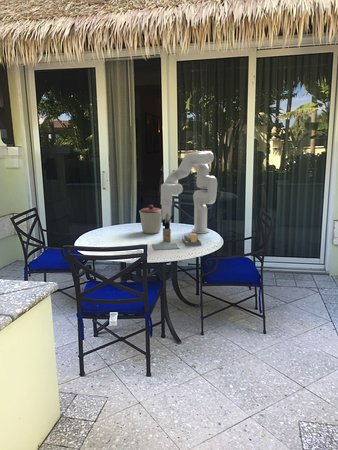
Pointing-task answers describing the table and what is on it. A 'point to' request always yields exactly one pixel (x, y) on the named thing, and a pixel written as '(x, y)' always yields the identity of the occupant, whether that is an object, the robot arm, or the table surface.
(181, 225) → the table surface
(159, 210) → the canister
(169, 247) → the tool mat
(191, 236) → the tan orange cube block
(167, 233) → the brown rectangular block
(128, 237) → the table surface
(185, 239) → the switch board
